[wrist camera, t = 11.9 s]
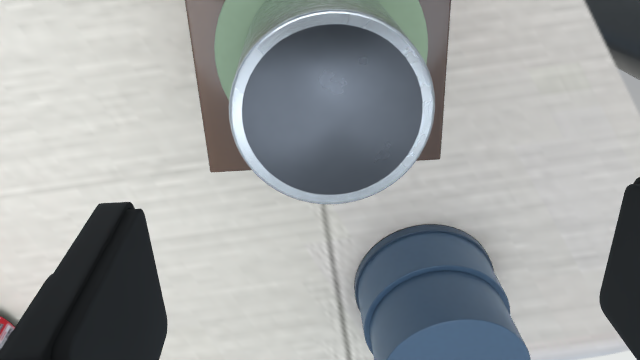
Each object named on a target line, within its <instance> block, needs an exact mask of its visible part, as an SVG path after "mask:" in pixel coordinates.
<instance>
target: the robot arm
mask: <svg viewBox="0 0 640 360" xmlns="http://www.w3.org/2000/svg"><path fill="white" fill-rule="evenodd" d="M600 305H601V309H602V311H603V313H604V314H605V316H606V317H607V319H608V320H609V321H610V323H611V324H612V326H613V327H614V328H615V330H616V331H617V332H618V334H619V335H620V337H621V338H622V339H623V341H624V342H625V344H626V345H627V346H628V348H629V349H630V350H631V352H632V353H633V355H634V356H635V357H636V358H637V360H640V177H639V178H637V179H636V180H635V182H634V184H631V185H629V186H628V187H627V188H626V190H625V193H624V197H623V201H622V205H621V209H620V213H619V217H618V221H617V226H616V230H615V234H614V238H613V242H612V246H611V250H610V254H609V258H608V262H607V266H606V271H605V275H604V279H603V283H602V287H601V291H600ZM166 334H167V315H166V311H165V306H164V302H163V297H162V292H161V288H160V283H159V279H158V274H157V269H156V265H155V260H154V255H153V251H152V246H151V242H150V237H149V232H148V228H147V223H146V219H145V215H144V212H143V210H142V209H135V208H134V206H133V204H132V203H131V202H120V203H101V204H99V205H98V206H97V207H96V209H95V210H94V212H93V213H92V215H91V216H90V218H89V219H88V221H87V222H86V224H85V226H84V227H83V229H82V230H81V232H80V233H79V235H78V236H77V238H76V239H75V241H74V243H73V244H72V246H71V247H70V249H69V250H68V252H67V253H66V255H65V256H64V258H63V259H62V261H61V263H60V264H59V266H58V267H57V269H56V270H55V272H54V273H53V274H51V275H50V276H49V277H48V279H47V280H46V281H45V283H44V284H43V286H42V287H41V289H40V290H39V292H38V293H37V295H36V296H35V298H34V299H33V301H32V302H31V304H30V305H29V307H28V308H27V310H26V312H25V313H24V315H23V316H22V318H21V319H20V321H19V322H18V324H17V325H16V327H15V328H14V330H13V331H12V333H11V334H10V336H9V337H8V339H7V341H6V342H5V344H4V345H3V347H2V348H1V350H0V360H159V358H160V355H161V351H162V348H163V345H164V341H165V338H166Z"/></svg>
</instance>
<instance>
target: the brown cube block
mask: <svg viewBox="0 0 640 360" xmlns="http://www.w3.org/2000/svg"><path fill="white" fill-rule="evenodd" d="M418 1H419V3H420V5H421V7H422V10H423V14H424V17H425V21H426V26H427V33H428V55H427V63H426V66H427V68H428V70H429V72H430V76H431V79H432V83H433V88H434V95H435V112H434V120H433V125H432V128H431V132H430V135H429V137H428V140H427V142H426V145H425V147H424V148H423V150H422V152H421V154H420V155H419V157H418V158H417V160H416V161H418V160H435V159H440V154H441V140H442V125H443V110H444V95H445V80H446V65H447V51H448V36H449V21H450V6H451V0H418ZM224 2H225V0H185V4H186V11H187V17H188V24H189V31H190V38H191V44H192V51H193V58H194V65H195V71H196V78H197V85H198V92H199V98H200V105H201V112H202V119H203V125H204V132H205V139H206V146H207V152H208V159H209V166H210V171H211V172H225V171H243V170H252V169H251V168H250V167H249V166H248V164H247V163H246V162H245V160H244V159H243V157H242V156H241V154H240V152H239V150H238V148H237V146H236V143H235V140H234V137H233V135H232V131H231V126H230V121H229V100H228V98H227V96H226V94H225V92H224V90H223V88H222V85H221V82H220V79H219V76H218V72H217V67H216V62H215V50H214V44H215V32H216V27H217V22H218V18H219V15H220V12H221V9H222V6H223V4H224Z"/></svg>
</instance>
